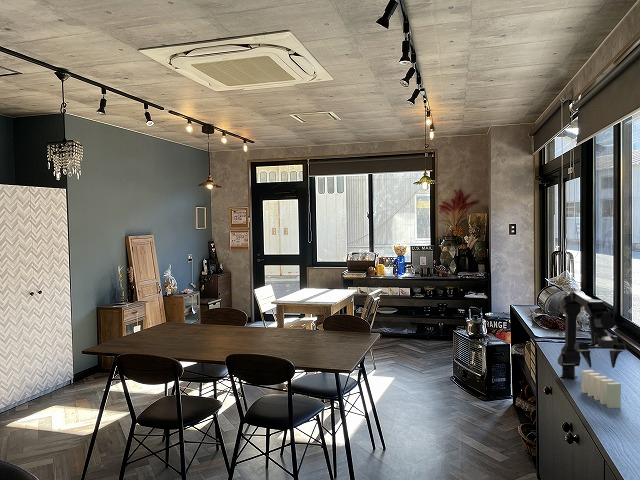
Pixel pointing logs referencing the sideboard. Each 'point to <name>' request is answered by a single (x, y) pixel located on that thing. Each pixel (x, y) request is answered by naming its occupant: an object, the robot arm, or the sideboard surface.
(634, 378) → the sideboard surface
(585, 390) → the domino
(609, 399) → the domino
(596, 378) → the domino
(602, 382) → the domino
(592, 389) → the domino
